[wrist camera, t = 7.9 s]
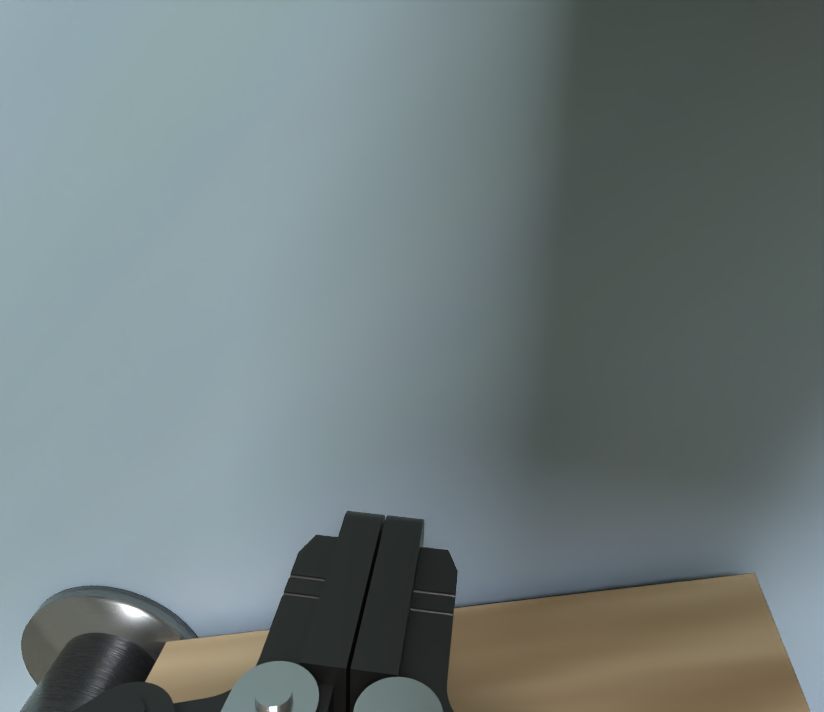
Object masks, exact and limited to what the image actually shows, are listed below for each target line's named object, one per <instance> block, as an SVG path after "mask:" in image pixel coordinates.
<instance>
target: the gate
mask: <svg viewBox="0 0 824 712" xmlns="http://www.w3.org/2000/svg"><path fill="white" fill-rule="evenodd" d="M268 633H269V630H264V631H255V632H247V633H238V634H229V635H221V636H212V637H204V638H195V639H187V640H178V641H170V642H166V644H165V646H164V648H163V650H162V651H161V653H160V655H159V657H158V659H157V661H156V663H155V665H154V666H153V668H152V669H151V671H150V673H149V675H148V677H147V679H146V681H145V682H148V683H153V684H155V685H158V686H160V687H161V688H163V689H164V690H165V691H166V692H167V693H168V694H169V695H170V697H171V699H172V701H173V703H178V702H185V701H191V700H197V699H203V698H208V697H213V696H216V695H219V694H222V693H225V692H227V691H229V690H231V689H232V688H233V686H234V684H235V683H236V682H237V680H238V679H239V678H240V677H241V676H242V675H243V674H244V673H246V672H247V671H249V670H250V669H252V668H253V667H255V666H256V664H257V662H258V660H259V657H260V655H261V652H262V649H263V647H264V644H265V641H266V638H267V636H268ZM447 694H448V699H449V702H450V705H451V707H452V709H453V711H454V712H811V711H810V709H809V706H808V704H807V701H806V699H805V697H804V694H803V692H802V689H801V687H800V684H799V682H798V679H797V677H796V674H795V672H794V669H793V667H792V664H791V662H790V659H789V657H788V654H787V652H786V649H785V647H784V644H783V642H782V639H781V637H780V634H779V632H778V629H777V627H776V625H775V622H774V620H773V617H772V615H771V612H770V610H769V607H768V605H767V602H766V600H765V597H764V595H763V592H762V590H761V587H760V585H759V582H758V580H757V577H756V575H755V573H751V574H743V575H734V576H726V577H717V578H708V579H700V580H691V581H683V582H674V583H666V584H657V585H649V586H640V587H631V588H623V589H614V590H606V591H597V592H589V593H580V594H572V595H563V596H554V597H546V598H537V599H529V600H520V601H512V602H503V603H495V604H486V605H477V606H469V607H460V608H454V615H453V626H452V637H451V648H450V658H449V669H448V680H447Z"/></svg>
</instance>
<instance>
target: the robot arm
mask: <svg viewBox="0 0 824 712" xmlns="http://www.w3.org/2000/svg"><path fill="white" fill-rule="evenodd" d="M423 537H424V520H423V519H415V518H406V517H397V516H388V515H387V517H386V520H385V516H384V515H378V514H370V513H361V512H352V511H347V512H346V514H345V517H344V520H343V523H342V527H341V530H340V533H339V536H338V537H330V536H322V535H316V536H315V537H314V538H313V539H312V540H311V541H310V542H309V543H308V544H307V545H306V546H305V547H304V548H303V549H302V550H301V551H299V553H298V555H297V558H296V561H295V563H294V566H293V569H292V571H291V576H290V578H289V579H288V582H287V585H286V588H285V590H284V595H283V596H282V598H281V601H280V604H279V606H278V609H277V612H276V614H275V617H274V620H273V622H272V625H271V628H270V630H269V633H268V636H267V638H266V641H265V644H264V647H263V649H262V652H261V655H260V657H259V660H258V662H257V664H256V666H255V667H253V668H252V669H250V670H249V671H247V672H246V673H244V674H243V675H242V676H241V677H240V678H239V679H238V680H237V682H236V683H235V684H234V686H233V688H232V689H231V690H229V691H227V692H225V693H222V694H219V695H216V696H213V697H208V698H203V699H197V700H191V701H185V702H178V703H173V701H172V699H171V697H170V695H169V694H168V693H167V692H166V691H165V690H164V689H163V688H161V687H160V686H158V685H155V684H153V683H148V682H129V683H125V684H121V685H118V686H115V687H113V688H111V689H109V690H107V691H105V692H103V693H102V694H100V695H98V696H97V697H95V698H93V699H92V700H90V701H89V702H87V703H85V704H84V705H82V706H80V707H79V708H77V709H75V710H74V711H72V712H454V711H453V709H452V707H451V705H450V702H449V699H448V694H447V680H448V669H449V658H450V648H451V637H452V626H453V615H454V605H455V594H456V583H457V572H458V571H457V569H456V567H455V564H454V562H453V560H452V558H451V555H450V553H449V551H448V550H442V549H433V548H425V547H423Z"/></svg>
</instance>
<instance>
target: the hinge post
mask: <svg viewBox="0 0 824 712" xmlns="http://www.w3.org/2000/svg"><path fill="white" fill-rule="evenodd" d="M195 638H198V637H197V636H196V634H195V633H194V632H193V631H192V630H191V629H190V627H189V626H188V625H187V624H186V623H184V622H183V621H182V620H181V619H180V618H179V617H178V616H176V615H175V614H174V613H172V612H171V611H169V610H168V609H167V608H165V607H163V606H161V605H160V604H158V603H156V602H154V601H152V600H150V599H148V598H146V597H144V596H141V595H138V594H136V593H133V592H130V591H126V590H122V589H118V588H112V587H105V586H82V587H75V588H71V589H67V590H64V591H61V592H59V593H57V594H55V595H53V596H52V597H50V598H49V599H47V600H46V601H45V602H44V603H43V604H42V605H41V607H40V608H39V609H38V610H37V612H36V613H35V614H34V616H33V617H32V618H31V620H30V621H29V623H28V624H27V626H26V627H25V630H24V632H23V636H22V641H21V649H22V655H23V660H24V662H25V665H26V668H27V670H28V672H29V673H30V675H31V677H32V678H33V680H34V681H35V683H36V684H37V685H38V686H37V687H36V689H35V690H34V692H33V693H32V695H31V696H30V697H29V699H28V700H27V702H26V703H25V705H24V706H23V708H22V709H21V711H20V712H72V711H74V710H75V709H77V708H79V707H80V706H82V705H84V704H85V703H87V702H89V701H90V700H92V699H93V698H95V697H97V696H98V695H100V694H102V693H103V692H105V691H107V690H109V689H111V688H113V687H115V686H118V685H121V684H125V683H129V682H145V681H146V679H147V677H148V675H149V673H150V671H151V669H152V668H153V666H154V665H155V663H156V661H157V659H158V657H159V655H160V653H161V651H162V650H163V648H164V646H165V644H166V642H170V641H178V640H187V639H195Z"/></svg>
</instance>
